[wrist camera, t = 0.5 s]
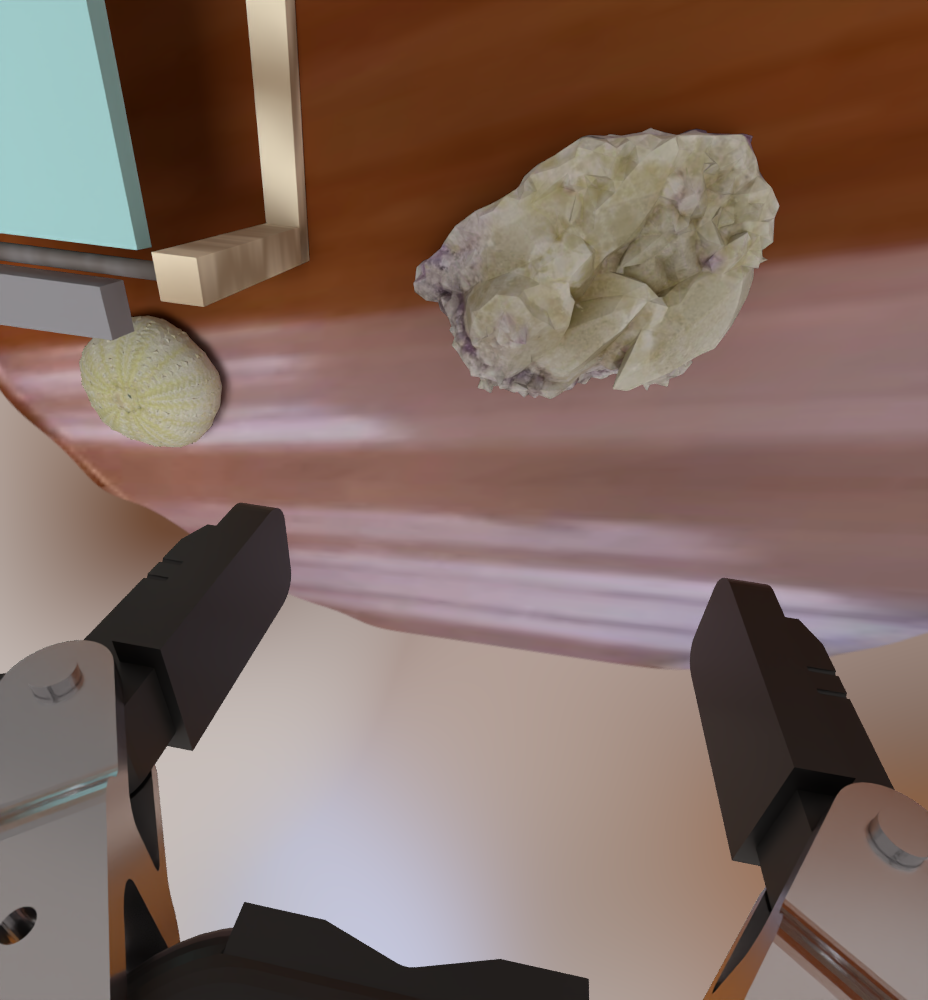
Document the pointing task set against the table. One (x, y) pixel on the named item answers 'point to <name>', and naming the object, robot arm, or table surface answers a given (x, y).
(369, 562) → the table surface
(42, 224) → the trapdoor
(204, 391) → the sea urchin shell
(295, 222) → the frame
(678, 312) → the geode
